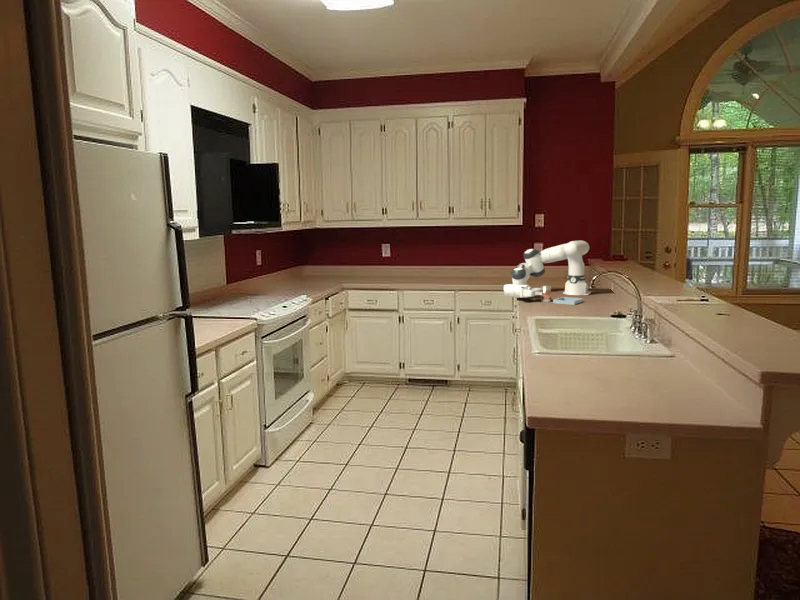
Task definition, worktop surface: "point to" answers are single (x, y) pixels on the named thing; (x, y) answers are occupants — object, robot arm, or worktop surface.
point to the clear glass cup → (546, 294)
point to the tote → (568, 300)
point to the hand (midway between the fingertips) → (545, 292)
